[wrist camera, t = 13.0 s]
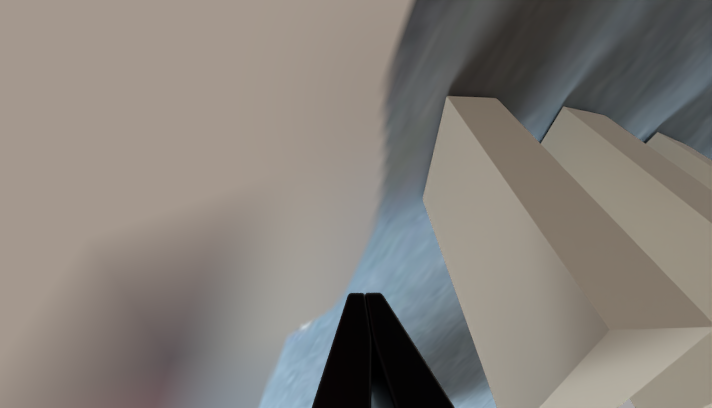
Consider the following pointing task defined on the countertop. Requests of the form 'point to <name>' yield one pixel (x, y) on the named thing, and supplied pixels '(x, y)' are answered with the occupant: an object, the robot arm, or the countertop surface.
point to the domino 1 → (546, 270)
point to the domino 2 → (648, 230)
